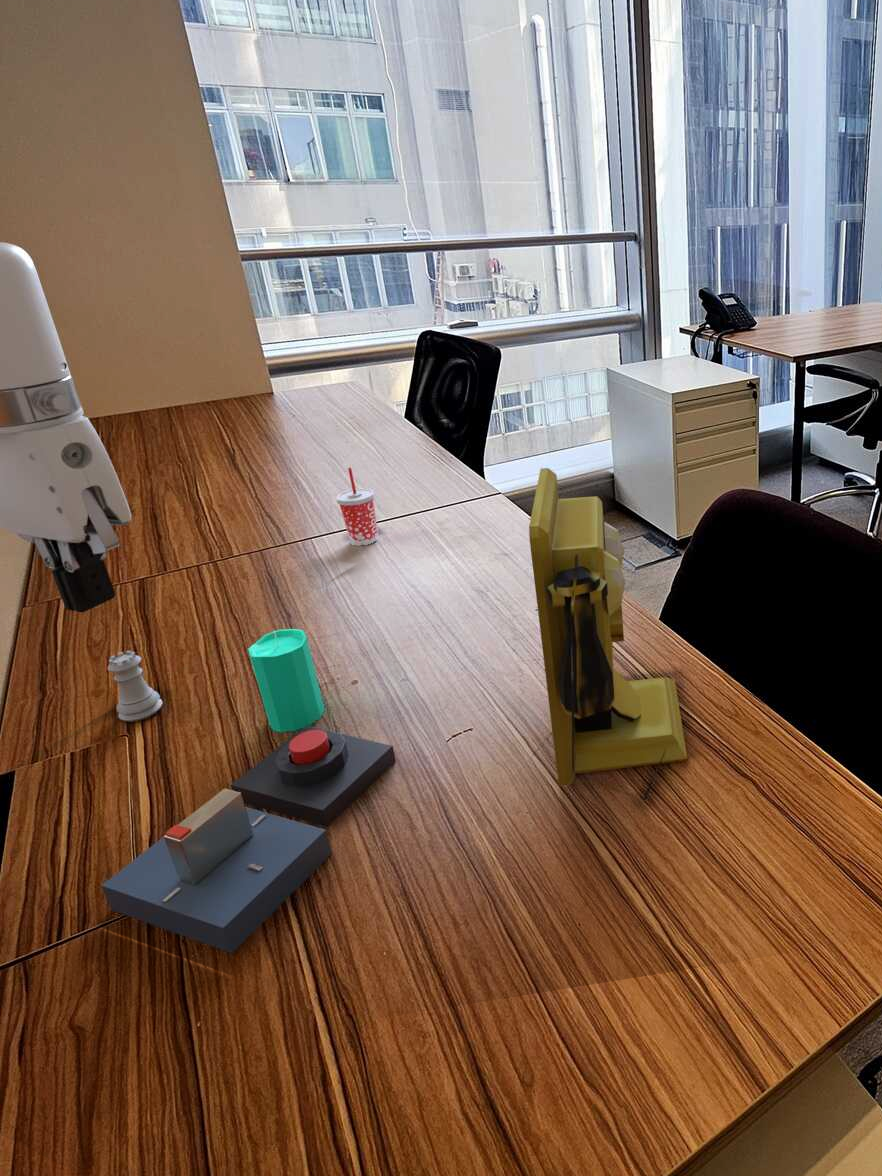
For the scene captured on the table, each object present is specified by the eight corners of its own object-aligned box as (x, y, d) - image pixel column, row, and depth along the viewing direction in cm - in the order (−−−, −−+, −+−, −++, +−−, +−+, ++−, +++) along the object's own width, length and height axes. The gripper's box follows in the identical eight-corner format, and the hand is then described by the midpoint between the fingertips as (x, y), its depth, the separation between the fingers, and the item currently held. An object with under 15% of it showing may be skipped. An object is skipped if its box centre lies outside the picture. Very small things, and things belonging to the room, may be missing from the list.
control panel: (111, 910, 69) (100, 884, 68) (221, 820, 79) (213, 796, 77) (232, 953, 65) (222, 926, 64) (332, 853, 75) (325, 828, 73)
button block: (235, 801, 81) (225, 770, 80) (310, 740, 90) (303, 712, 88) (327, 827, 78) (319, 796, 76) (396, 761, 86) (390, 732, 85)
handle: (238, 829, 73) (223, 785, 71) (254, 834, 73) (240, 790, 71) (178, 879, 68) (161, 833, 66) (195, 885, 68) (179, 839, 66)
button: (284, 761, 81) (280, 748, 81) (311, 739, 84) (307, 726, 84) (311, 768, 80) (307, 755, 80) (337, 746, 83) (334, 733, 83)
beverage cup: (365, 549, 137) (350, 475, 132) (338, 545, 139) (322, 471, 134) (390, 536, 142) (376, 464, 137) (363, 531, 144) (348, 460, 139)
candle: (309, 695, 98) (287, 612, 93) (334, 712, 95) (313, 627, 90) (259, 720, 93) (234, 634, 89) (284, 739, 90) (259, 651, 85)
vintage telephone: (697, 825, 77) (688, 556, 66) (555, 844, 75) (520, 569, 64) (670, 653, 106) (660, 444, 95) (566, 663, 104) (543, 451, 93)
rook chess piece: (163, 715, 94) (144, 659, 91) (118, 728, 92) (97, 671, 89) (163, 696, 98) (145, 642, 95) (120, 709, 95) (99, 653, 92)
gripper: (133, 399, 63) (193, 596, 70) (8, 387, 68) (76, 574, 75) (32, 424, 57) (109, 639, 64) (-100, 409, 61) (-14, 612, 68)
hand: (91, 603), depth 69 cm, fingers closed
